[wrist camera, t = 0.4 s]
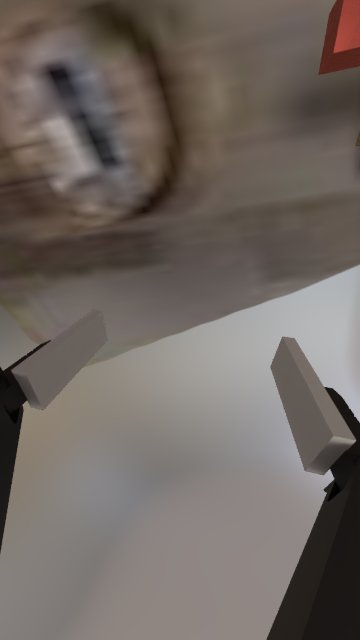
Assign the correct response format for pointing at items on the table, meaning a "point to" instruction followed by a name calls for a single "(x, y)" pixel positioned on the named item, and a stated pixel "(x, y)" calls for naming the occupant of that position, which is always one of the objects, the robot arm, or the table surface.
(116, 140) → the table surface
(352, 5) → the lever
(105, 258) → the table surface
